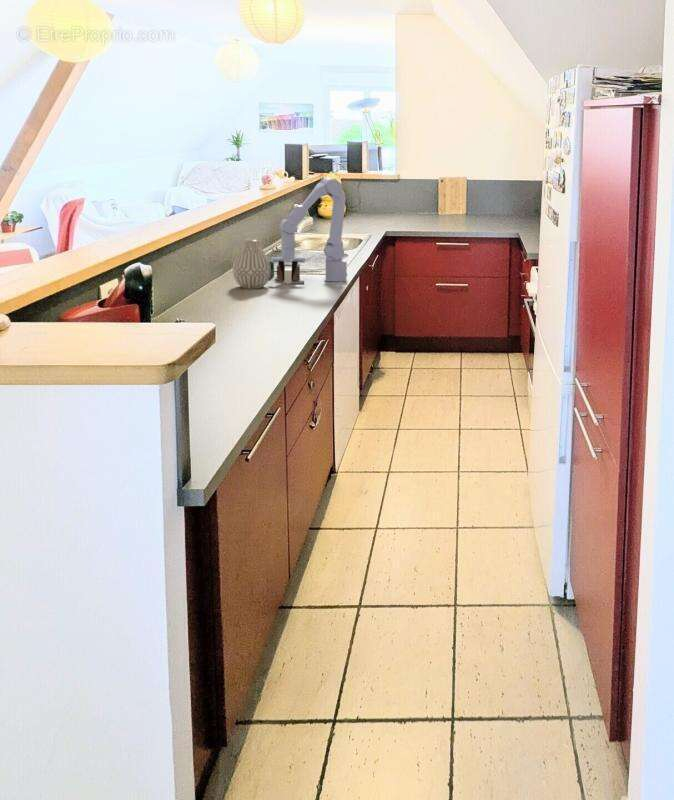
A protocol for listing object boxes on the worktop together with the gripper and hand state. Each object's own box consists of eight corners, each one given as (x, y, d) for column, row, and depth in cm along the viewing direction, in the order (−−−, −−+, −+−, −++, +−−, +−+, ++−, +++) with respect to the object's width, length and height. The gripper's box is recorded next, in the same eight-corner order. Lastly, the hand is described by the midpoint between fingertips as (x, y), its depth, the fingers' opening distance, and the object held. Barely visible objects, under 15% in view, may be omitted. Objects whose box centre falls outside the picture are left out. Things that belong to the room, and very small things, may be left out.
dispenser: (299, 277, 442) (299, 261, 440) (299, 280, 434) (299, 264, 432) (277, 276, 441) (277, 261, 439) (276, 279, 434) (276, 264, 432)
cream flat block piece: (291, 278, 437) (291, 266, 436) (291, 283, 426) (291, 270, 424) (285, 278, 437) (285, 266, 436) (284, 283, 426) (284, 270, 424)
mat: (304, 281, 430) (304, 280, 430) (304, 284, 424) (304, 283, 424) (292, 281, 429) (292, 280, 429) (292, 284, 424) (292, 283, 424)
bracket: (259, 275, 445) (259, 258, 443) (274, 276, 444) (274, 258, 442) (247, 282, 429) (247, 264, 426) (262, 283, 427) (262, 264, 425)
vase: (256, 292, 405) (255, 243, 399) (225, 288, 413) (224, 240, 407) (278, 286, 418) (278, 239, 412) (247, 282, 426) (247, 236, 420)
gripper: (304, 246, 428) (304, 277, 432) (271, 246, 427) (271, 277, 431) (304, 248, 421) (304, 280, 425) (270, 248, 421) (271, 280, 425)
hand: (288, 279), depth 428 cm, fingers closed on cream flat block piece, 3 cm apart
